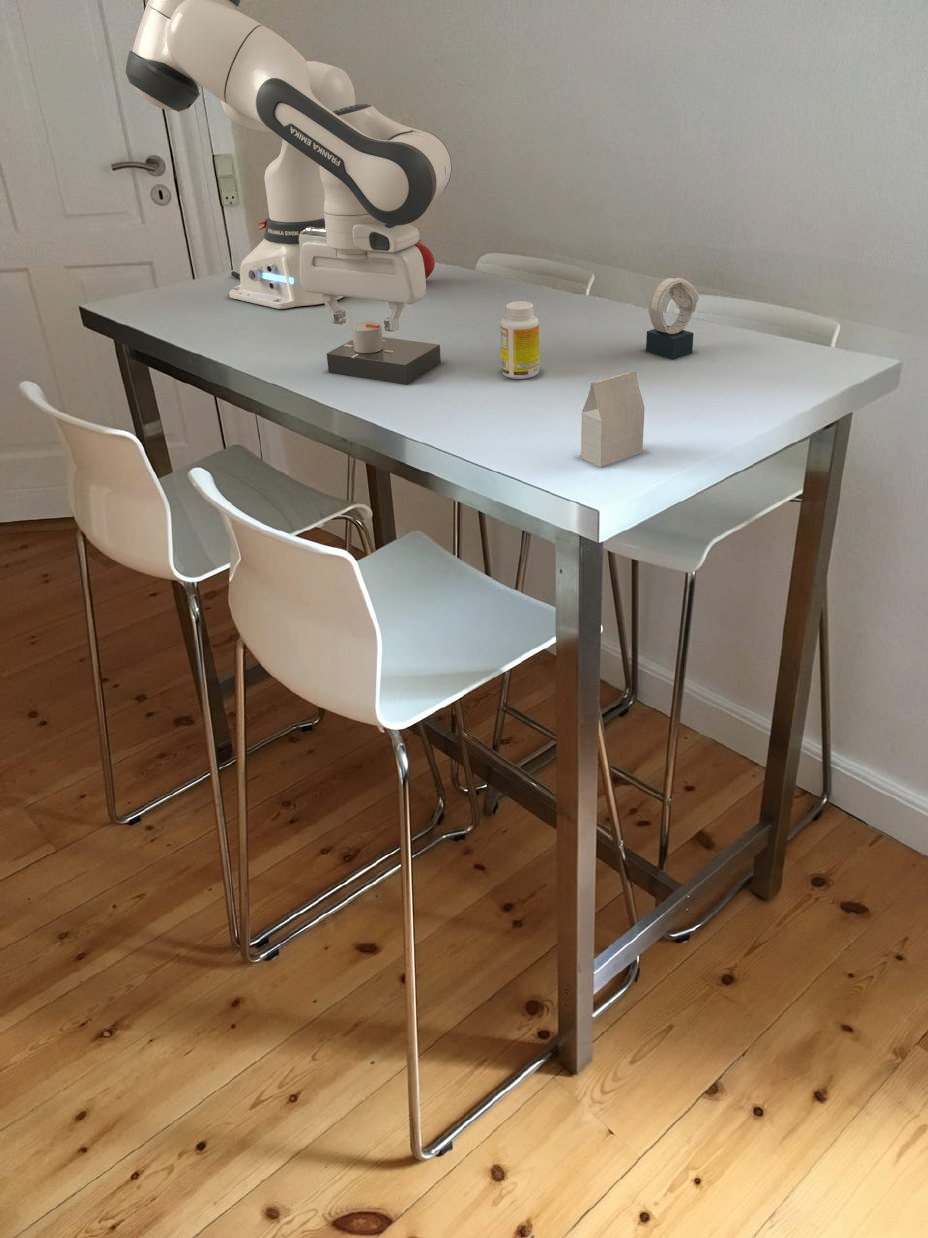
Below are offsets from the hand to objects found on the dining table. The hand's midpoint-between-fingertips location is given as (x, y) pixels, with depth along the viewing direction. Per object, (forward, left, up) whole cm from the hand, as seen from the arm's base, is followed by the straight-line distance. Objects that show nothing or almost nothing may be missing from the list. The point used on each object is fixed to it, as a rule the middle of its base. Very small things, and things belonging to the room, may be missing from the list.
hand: (365, 326), depth 162 cm
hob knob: (0, 0, -3) cm, 3 cm away
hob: (+2, +1, -6) cm, 7 cm away
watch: (+39, +24, -7) cm, 46 cm away
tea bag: (+46, -16, -7) cm, 49 cm away
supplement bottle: (+22, +7, -7) cm, 24 cm away
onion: (-18, +45, -7) cm, 49 cm away
